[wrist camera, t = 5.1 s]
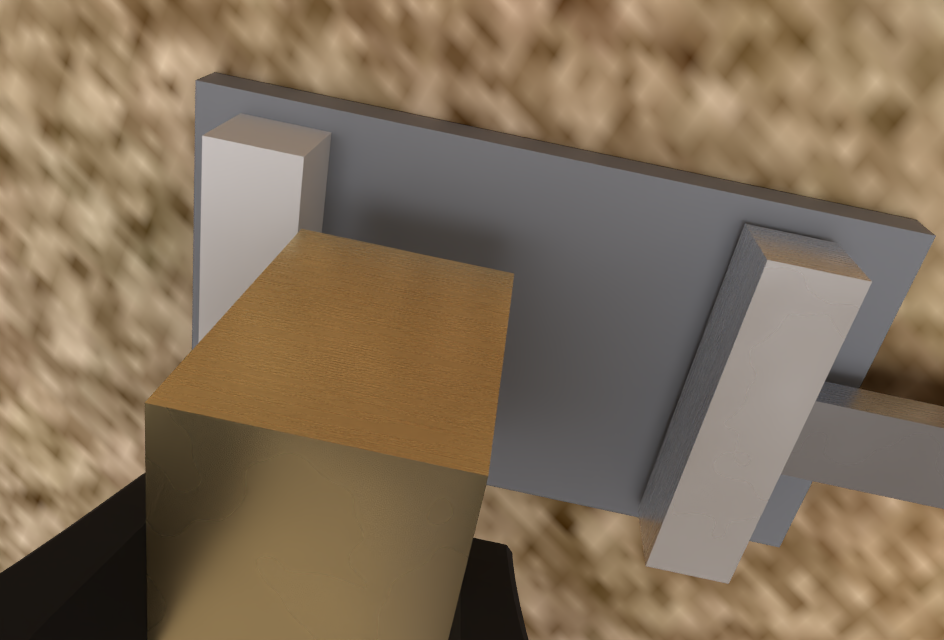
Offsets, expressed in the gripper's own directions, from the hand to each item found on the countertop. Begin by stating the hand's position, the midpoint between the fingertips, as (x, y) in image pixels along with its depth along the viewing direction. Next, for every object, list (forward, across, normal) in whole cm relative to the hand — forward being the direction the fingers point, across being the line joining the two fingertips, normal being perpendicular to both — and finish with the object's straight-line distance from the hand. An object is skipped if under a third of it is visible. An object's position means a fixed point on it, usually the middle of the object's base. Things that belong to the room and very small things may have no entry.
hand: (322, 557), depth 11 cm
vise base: (+9, -3, 0) cm, 9 cm away
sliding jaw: (+8, -12, 0) cm, 14 cm away
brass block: (+5, 0, 0) cm, 5 cm away
